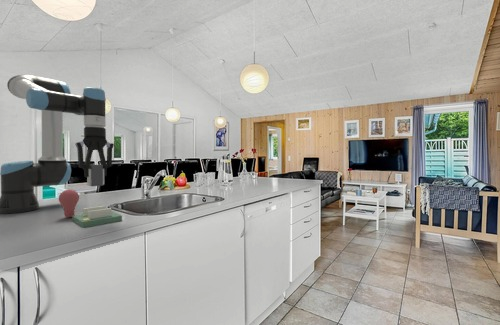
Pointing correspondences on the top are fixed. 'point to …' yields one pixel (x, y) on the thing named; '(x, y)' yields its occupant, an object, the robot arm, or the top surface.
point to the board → (96, 216)
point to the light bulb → (69, 202)
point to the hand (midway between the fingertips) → (95, 184)
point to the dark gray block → (96, 175)
